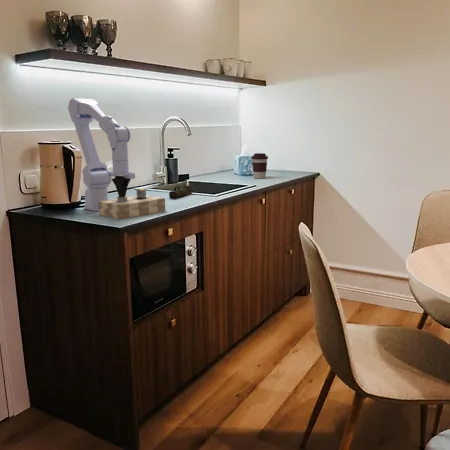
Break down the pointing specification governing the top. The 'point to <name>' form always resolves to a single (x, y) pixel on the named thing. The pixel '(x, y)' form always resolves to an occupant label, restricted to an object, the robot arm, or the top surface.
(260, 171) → the coffee cup
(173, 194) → the hand tool
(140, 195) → the far peg
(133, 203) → the twin-bore block
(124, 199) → the near peg
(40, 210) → the top surface
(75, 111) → the robot arm
